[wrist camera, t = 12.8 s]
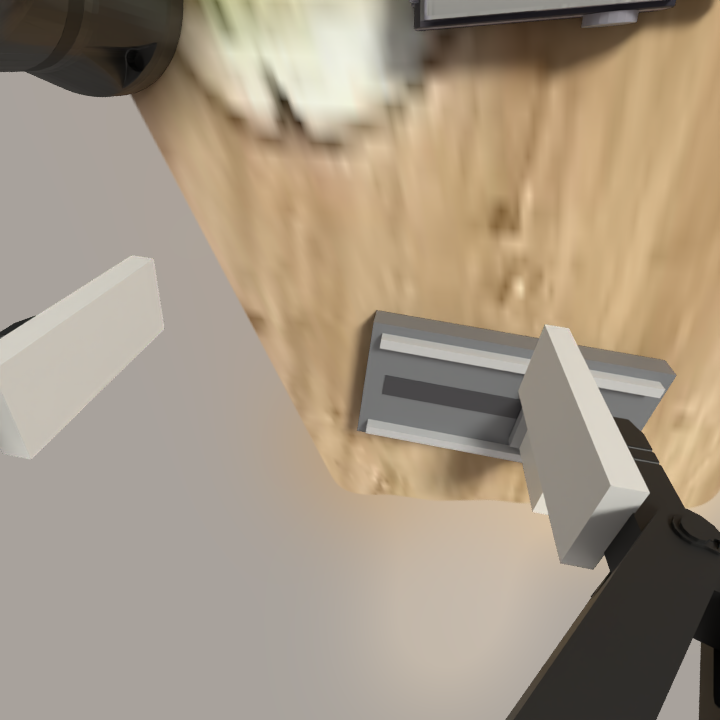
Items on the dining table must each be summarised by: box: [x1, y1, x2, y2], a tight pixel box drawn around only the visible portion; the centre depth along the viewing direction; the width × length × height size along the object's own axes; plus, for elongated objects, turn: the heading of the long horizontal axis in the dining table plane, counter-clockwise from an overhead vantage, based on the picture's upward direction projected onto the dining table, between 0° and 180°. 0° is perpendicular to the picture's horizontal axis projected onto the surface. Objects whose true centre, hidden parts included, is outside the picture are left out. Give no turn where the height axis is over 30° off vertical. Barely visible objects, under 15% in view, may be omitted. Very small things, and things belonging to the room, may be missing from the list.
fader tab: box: [508, 408, 548, 515], centre depth 41 cm, size 6×8×9 cm
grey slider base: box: [357, 310, 676, 463], centre depth 46 cm, size 28×14×4 cm, turn 83°
